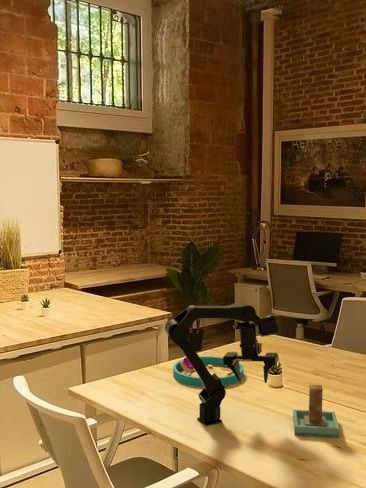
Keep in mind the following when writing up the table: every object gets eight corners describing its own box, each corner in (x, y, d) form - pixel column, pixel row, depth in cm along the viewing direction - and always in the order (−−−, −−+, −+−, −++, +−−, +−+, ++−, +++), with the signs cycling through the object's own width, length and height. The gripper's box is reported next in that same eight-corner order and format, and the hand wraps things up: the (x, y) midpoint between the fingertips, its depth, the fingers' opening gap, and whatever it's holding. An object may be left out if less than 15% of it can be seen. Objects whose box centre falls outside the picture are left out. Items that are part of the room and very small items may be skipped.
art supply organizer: (191, 361, 263) (191, 348, 263) (252, 370, 250) (253, 357, 250) (160, 381, 236) (160, 367, 236) (228, 392, 223) (228, 378, 223)
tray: (294, 435, 184) (294, 426, 184) (293, 417, 198) (293, 409, 198) (339, 438, 182) (339, 429, 182) (334, 420, 196) (334, 411, 196)
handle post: (304, 428, 187) (305, 390, 186) (303, 419, 194) (304, 382, 193) (326, 429, 186) (327, 391, 185) (324, 420, 193) (325, 383, 192)
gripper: (280, 331, 200) (284, 374, 202) (229, 331, 207) (233, 372, 209) (272, 342, 189) (277, 386, 192) (219, 341, 197) (224, 384, 199)
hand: (252, 382), depth 198 cm, fingers open, 9 cm apart
